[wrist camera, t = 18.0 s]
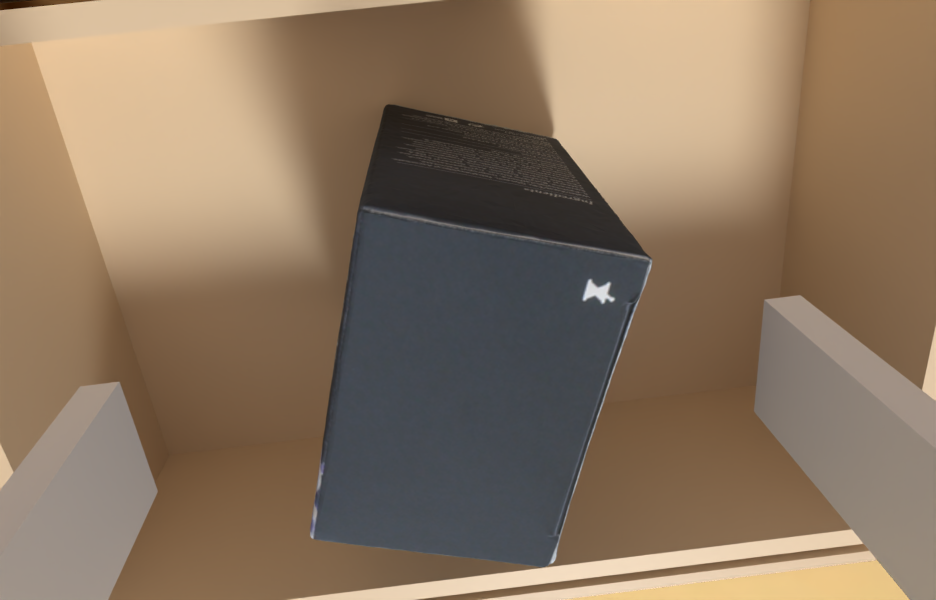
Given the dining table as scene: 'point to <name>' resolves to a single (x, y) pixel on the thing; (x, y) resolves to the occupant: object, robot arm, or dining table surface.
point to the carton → (331, 237)
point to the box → (471, 342)
